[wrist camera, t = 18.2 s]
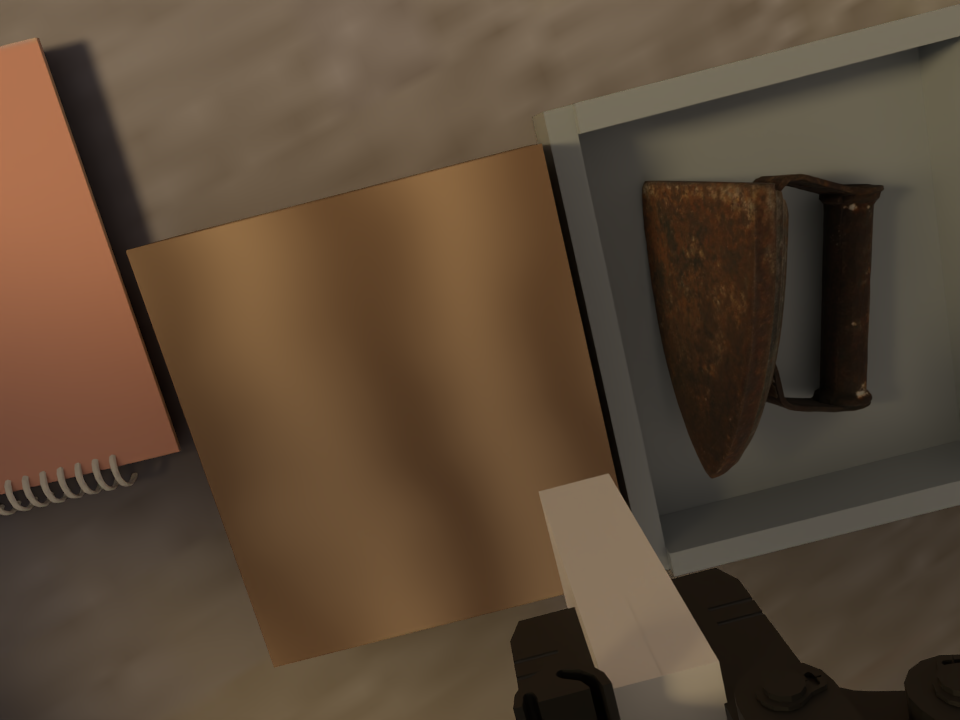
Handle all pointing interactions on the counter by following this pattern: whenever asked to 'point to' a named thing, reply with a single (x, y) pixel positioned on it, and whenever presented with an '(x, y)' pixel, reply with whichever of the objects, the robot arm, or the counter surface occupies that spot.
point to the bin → (893, 283)
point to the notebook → (62, 309)
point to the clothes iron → (753, 301)
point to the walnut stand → (384, 397)
